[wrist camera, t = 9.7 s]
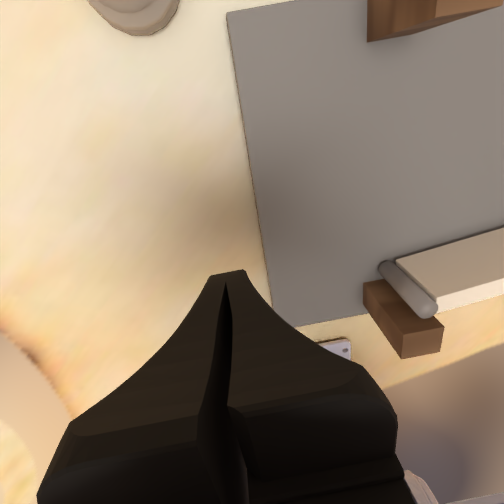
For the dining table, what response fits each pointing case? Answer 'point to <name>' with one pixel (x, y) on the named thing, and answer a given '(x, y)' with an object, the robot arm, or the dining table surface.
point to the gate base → (365, 144)
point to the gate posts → (380, 291)
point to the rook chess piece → (136, 14)
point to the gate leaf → (449, 274)
